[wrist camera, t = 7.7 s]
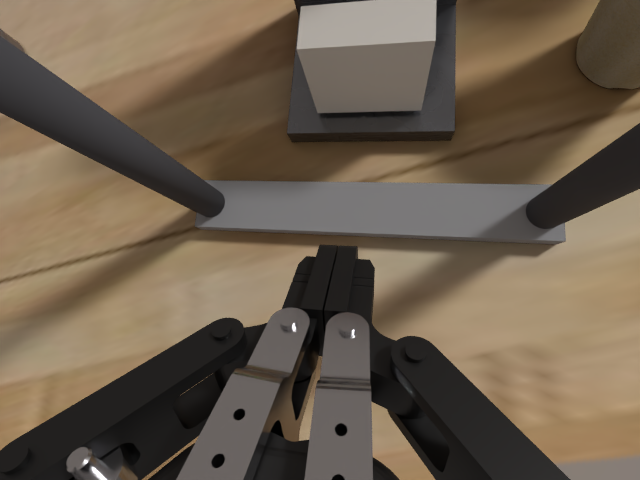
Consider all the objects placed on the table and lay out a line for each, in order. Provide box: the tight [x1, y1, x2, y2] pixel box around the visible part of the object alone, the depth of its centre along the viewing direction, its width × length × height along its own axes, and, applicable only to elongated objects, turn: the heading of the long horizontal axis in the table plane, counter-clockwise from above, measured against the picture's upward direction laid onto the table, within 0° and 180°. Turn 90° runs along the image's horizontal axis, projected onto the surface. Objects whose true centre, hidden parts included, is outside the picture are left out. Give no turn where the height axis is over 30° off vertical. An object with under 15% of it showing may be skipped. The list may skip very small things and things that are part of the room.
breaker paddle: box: [297, 0, 436, 113], centre depth 23 cm, size 3×8×7 cm, turn 85°
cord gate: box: [0, 36, 640, 244], centre depth 17 cm, size 4×27×20 cm, turn 85°
